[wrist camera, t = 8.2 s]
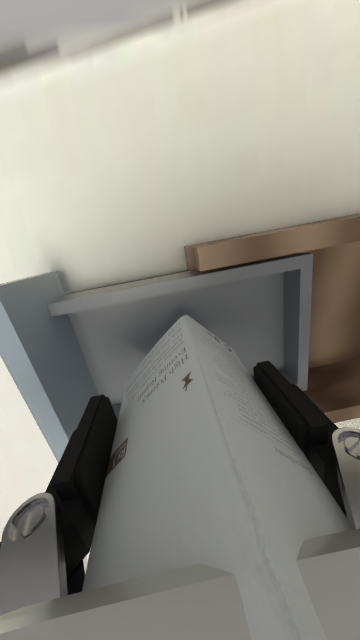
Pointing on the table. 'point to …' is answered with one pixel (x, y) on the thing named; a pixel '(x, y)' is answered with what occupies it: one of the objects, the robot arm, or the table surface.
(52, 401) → the tray
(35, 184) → the table surface
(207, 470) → the skincare box
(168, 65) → the table surface
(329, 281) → the housing
